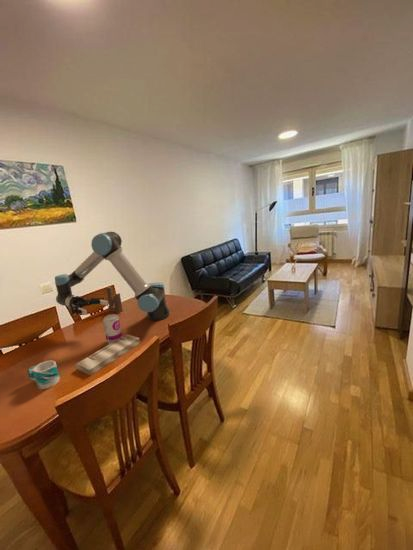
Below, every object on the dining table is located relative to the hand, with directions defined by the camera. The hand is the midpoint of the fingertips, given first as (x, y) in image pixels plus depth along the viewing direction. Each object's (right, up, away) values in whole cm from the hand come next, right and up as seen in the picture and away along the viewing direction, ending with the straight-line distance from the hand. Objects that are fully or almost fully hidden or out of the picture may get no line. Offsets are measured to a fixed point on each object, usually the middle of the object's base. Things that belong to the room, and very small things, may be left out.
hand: (97, 307), depth 135 cm
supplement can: (+10, -19, 0) cm, 21 cm away
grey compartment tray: (+13, -22, -13) cm, 29 cm away
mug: (-9, -28, -30) cm, 42 cm away
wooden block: (-6, -8, +42) cm, 44 cm away
